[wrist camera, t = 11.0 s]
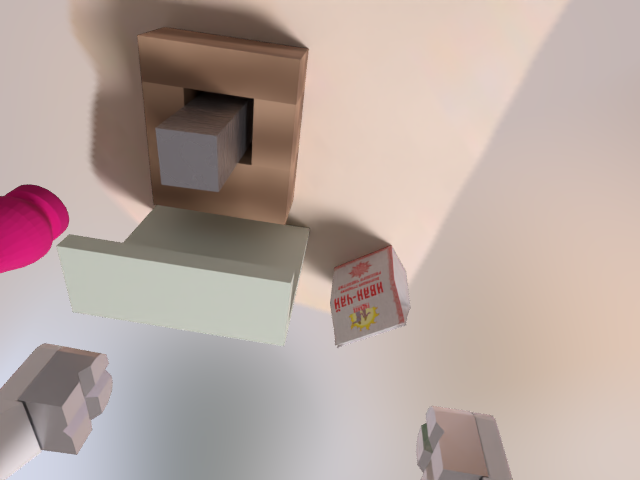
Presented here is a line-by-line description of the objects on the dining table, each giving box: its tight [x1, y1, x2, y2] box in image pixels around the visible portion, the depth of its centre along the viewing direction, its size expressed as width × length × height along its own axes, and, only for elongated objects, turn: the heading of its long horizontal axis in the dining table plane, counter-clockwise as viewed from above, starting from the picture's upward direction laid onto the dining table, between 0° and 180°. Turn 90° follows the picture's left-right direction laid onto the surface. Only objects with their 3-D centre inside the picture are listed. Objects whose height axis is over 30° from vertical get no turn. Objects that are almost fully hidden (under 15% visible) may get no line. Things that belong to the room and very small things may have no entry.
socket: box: [137, 27, 309, 225], centre depth 37 cm, size 14×12×5 cm
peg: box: [155, 91, 254, 192], centre depth 34 cm, size 4×4×12 cm
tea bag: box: [330, 245, 410, 348], centre depth 43 cm, size 4×7×10 cm, turn 120°
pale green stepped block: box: [56, 205, 310, 346], centre depth 37 cm, size 6×16×16 cm, turn 83°
